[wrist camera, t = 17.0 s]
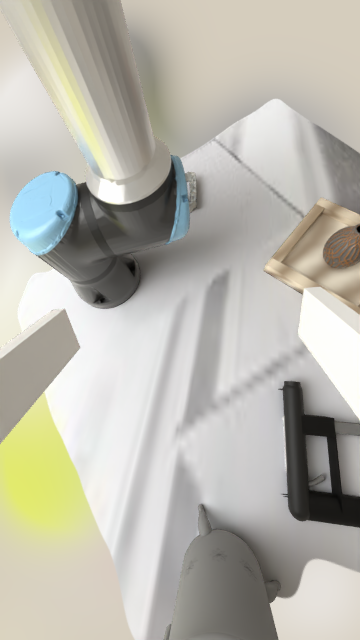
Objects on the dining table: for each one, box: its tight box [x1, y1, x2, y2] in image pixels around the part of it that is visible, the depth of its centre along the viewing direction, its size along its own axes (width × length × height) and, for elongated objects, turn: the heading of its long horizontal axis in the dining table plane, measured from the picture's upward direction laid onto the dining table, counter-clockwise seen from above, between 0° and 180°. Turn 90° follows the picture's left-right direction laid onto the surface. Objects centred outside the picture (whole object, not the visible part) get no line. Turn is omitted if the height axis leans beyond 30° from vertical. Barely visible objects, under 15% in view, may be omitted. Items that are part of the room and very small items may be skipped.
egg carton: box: [185, 172, 196, 212], centre depth 55 cm, size 11×8×4 cm
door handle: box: [278, 381, 360, 527], centre depth 36 cm, size 3×20×16 cm
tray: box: [264, 198, 360, 315], centre depth 45 cm, size 20×20×2 cm
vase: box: [323, 224, 360, 269], centre depth 41 cm, size 7×7×9 cm
